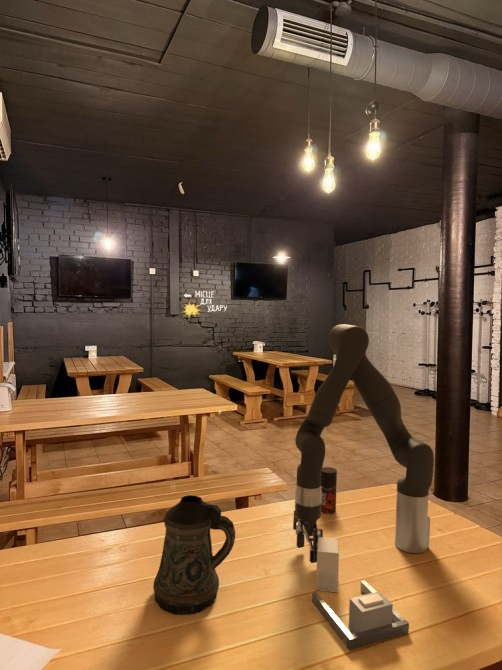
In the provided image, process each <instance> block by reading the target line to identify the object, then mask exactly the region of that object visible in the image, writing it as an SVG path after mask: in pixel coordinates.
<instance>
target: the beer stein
mask: <svg viewBox="0 0 502 670" xmlns="http://www.w3.org/2000/svg"><path fill="white" fill-rule="evenodd" d="M163 523H164V524H163V525H164V528H165V534H164V540H163V545H162V552H161V553H162V554H161V558H160V563H159V567H158V571H157V573H156V575H155V578H154V580H153V585H152V586H153V593H154V603H156V605H157V606H158V607H159V609H161V610H162V611H164V612H167V613H169V614H172V615H175V616H179V615H180V616H192V615H195V614H197V613H202V612H203V611H205V610H207V609H208V608H210V607H212V605H213V603H214V602H215V601H216V600H217V597H218V596H217V595H218V592H219V591H218V590H219V587H220V580H219V576H218V573H217V569H216V568H217V567H219V566H220V565H221V564H222V563H223V562H224V561H225V560H226V558H227V557H228V556H229V555H230V553H231V551H232V550H233V547H234V546H235V541H236V529H235V527H234V526H235V524H234V522H233V521H232V520H231V519H229V517H228V516H225V515H222V510H221V508H220V507H219V506H218V504H217V505H216V504H209V503H206V502H205V501H204V500H203V499H202V497H200V496H198V495H184V496H183V497H181V499H180V500H179V502H178V503H177V504H175V505H173V506H172V507H171V508H169V509H168V510H167V511H166V513H165V514H164V516H163ZM211 530H214V531H215V530H217V531H218V530H221V531H222V532H224V535H225V541H224V543H223V545H222V547H221V548H220V549H219V550H218V551H217V552H216V553H215V554H214V555H213V547H212V538H211V537H212V536H211Z"/></svg>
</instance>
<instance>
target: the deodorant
mask: <svg viewBox="0 0 502 670" xmlns="http://www.w3.org/2000/svg"><path fill="white" fill-rule="evenodd" d="M337 474H338V470H337V468H334V467H332V466H323V467H322V470H321V491H322V500H321V512H322V513H321V514H324V515H333V514H336V513H337V484H338V482H337V479H338V475H337Z"/></svg>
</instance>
